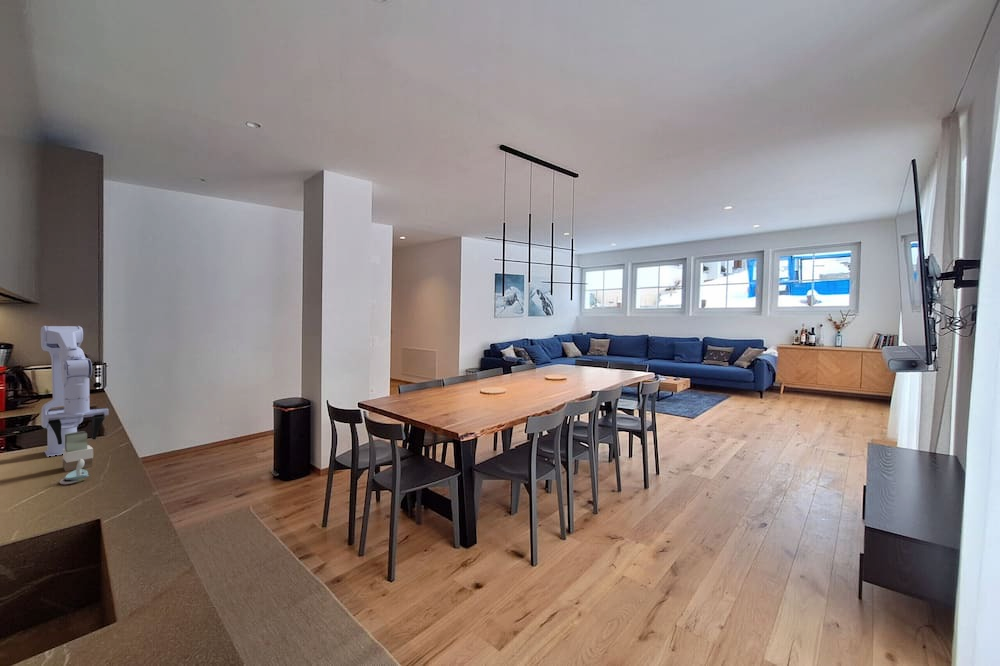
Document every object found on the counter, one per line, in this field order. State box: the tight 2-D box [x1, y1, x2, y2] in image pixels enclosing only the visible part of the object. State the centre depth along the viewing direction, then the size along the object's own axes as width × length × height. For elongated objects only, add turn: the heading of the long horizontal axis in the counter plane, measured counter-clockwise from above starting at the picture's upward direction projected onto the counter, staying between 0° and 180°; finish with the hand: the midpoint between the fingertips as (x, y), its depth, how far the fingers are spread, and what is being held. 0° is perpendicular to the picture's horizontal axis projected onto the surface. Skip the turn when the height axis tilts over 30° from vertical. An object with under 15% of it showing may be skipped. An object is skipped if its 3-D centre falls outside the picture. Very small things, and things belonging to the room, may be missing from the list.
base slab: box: [62, 458, 93, 472], centre depth 134 cm, size 6×6×3 cm
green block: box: [65, 430, 88, 452], centre depth 134 cm, size 4×4×5 cm
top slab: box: [62, 444, 94, 463], centre depth 135 cm, size 6×6×3 cm
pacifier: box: [58, 459, 90, 485], centre depth 123 cm, size 7×6×6 cm
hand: (77, 441), depth 134 cm, fingers open, 7 cm apart
